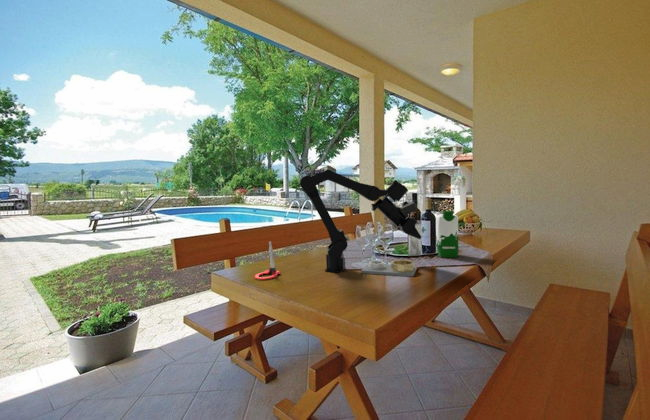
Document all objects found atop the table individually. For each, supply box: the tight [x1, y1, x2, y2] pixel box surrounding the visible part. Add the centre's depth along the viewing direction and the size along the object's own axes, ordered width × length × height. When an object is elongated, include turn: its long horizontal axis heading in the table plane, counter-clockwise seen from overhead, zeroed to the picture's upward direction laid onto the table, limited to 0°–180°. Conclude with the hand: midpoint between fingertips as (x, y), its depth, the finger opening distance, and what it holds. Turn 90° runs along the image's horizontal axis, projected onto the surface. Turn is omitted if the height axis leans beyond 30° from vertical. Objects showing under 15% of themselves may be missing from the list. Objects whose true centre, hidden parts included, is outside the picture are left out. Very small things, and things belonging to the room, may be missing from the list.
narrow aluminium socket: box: [367, 260, 385, 270], centre depth 125 cm, size 6×6×2 cm
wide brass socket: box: [390, 259, 415, 272], centre depth 121 cm, size 8×8×2 cm
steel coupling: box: [407, 220, 423, 256], centre depth 128 cm, size 5×5×13 cm
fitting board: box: [360, 263, 418, 277], centre depth 123 cm, size 19×11×1 cm, turn 67°
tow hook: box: [254, 241, 282, 281], centre depth 122 cm, size 8×13×9 cm
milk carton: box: [435, 210, 459, 258], centre depth 143 cm, size 9×9×20 cm
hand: (418, 237), depth 128 cm, fingers closed on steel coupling, 5 cm apart
